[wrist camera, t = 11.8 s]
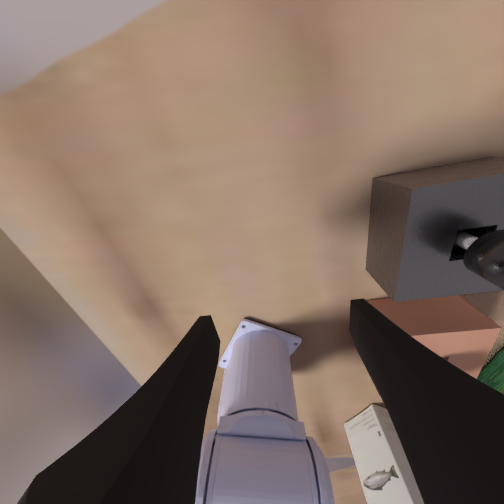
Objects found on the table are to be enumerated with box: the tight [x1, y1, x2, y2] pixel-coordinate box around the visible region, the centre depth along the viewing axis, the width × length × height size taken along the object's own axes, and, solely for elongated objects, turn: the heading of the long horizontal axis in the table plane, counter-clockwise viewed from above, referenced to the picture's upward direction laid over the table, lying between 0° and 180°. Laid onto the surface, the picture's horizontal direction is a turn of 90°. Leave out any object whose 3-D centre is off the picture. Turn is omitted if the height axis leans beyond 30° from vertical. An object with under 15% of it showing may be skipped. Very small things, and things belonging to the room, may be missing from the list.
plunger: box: [454, 230, 504, 290], centre depth 14 cm, size 3×3×8 cm
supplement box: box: [344, 404, 424, 504], centre depth 28 cm, size 7×7×13 cm
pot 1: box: [366, 157, 504, 302], centre depth 16 cm, size 9×9×5 cm
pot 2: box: [366, 295, 502, 395], centre depth 22 cm, size 9×9×5 cm
